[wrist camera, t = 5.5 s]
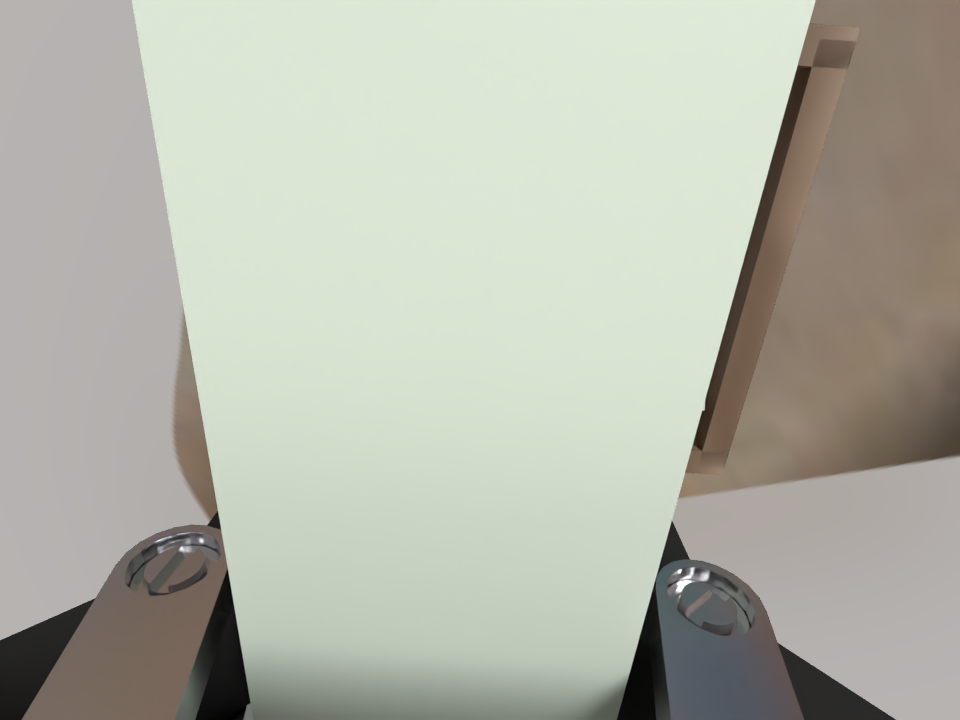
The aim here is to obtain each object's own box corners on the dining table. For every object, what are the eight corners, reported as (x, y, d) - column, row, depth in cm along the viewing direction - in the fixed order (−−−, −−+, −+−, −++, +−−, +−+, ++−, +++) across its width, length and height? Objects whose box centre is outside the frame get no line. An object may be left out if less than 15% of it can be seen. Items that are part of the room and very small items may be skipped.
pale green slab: (542, 81, 21) (893, -280, 3) (506, 424, 27) (532, 1022, 9) (442, 73, 21) (73, -347, 3) (430, 419, 27) (301, 1007, 9)
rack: (793, 46, 26) (896, 17, 19) (690, 429, 34) (737, 497, 28) (381, 13, 25) (346, -27, 19) (384, 409, 34) (360, 473, 28)
